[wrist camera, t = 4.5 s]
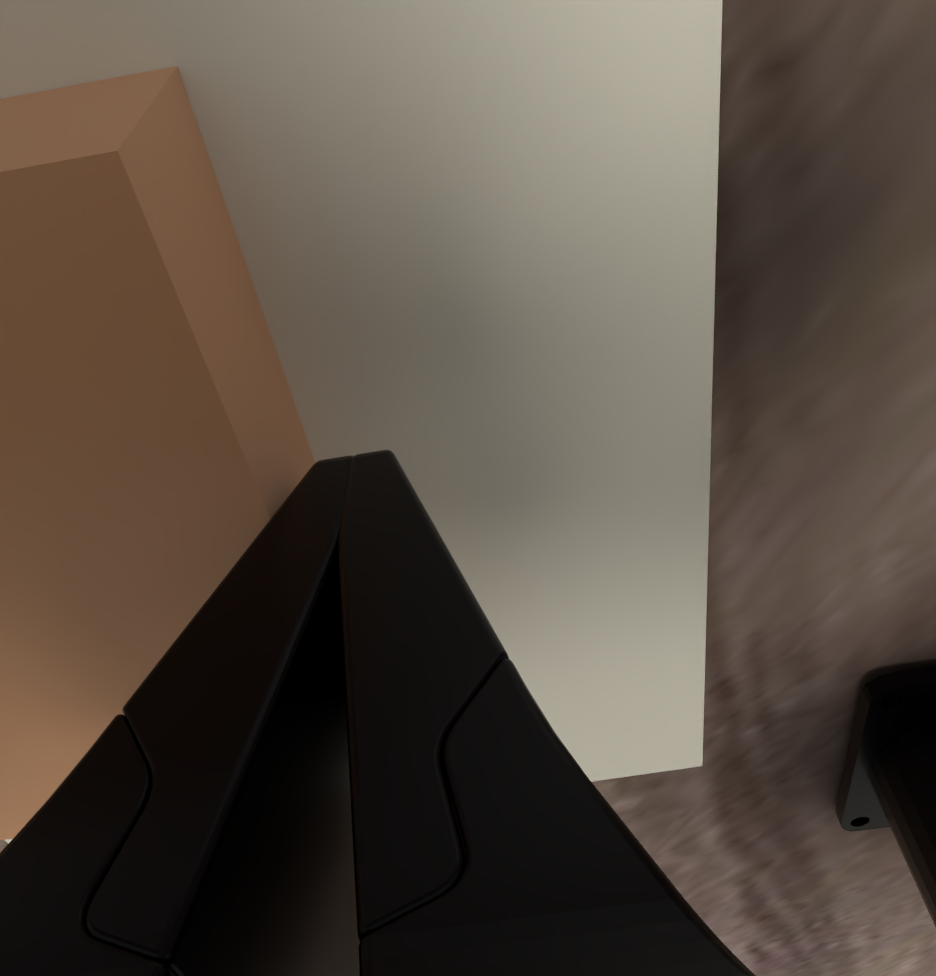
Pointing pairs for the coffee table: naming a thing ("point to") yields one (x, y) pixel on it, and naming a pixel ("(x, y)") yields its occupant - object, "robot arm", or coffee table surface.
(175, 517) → the tile
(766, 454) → the coffee table surface
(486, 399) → the cream flat block
